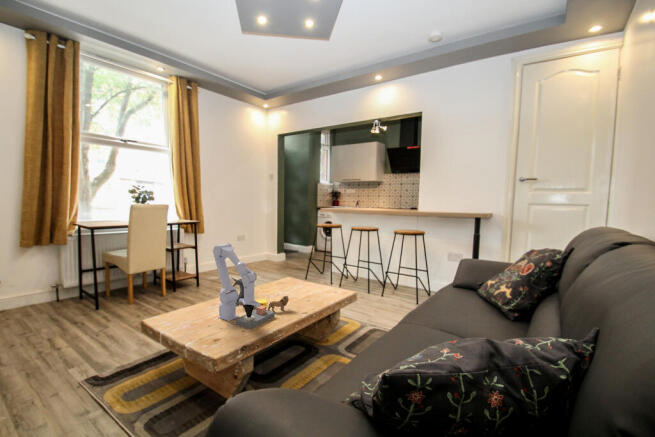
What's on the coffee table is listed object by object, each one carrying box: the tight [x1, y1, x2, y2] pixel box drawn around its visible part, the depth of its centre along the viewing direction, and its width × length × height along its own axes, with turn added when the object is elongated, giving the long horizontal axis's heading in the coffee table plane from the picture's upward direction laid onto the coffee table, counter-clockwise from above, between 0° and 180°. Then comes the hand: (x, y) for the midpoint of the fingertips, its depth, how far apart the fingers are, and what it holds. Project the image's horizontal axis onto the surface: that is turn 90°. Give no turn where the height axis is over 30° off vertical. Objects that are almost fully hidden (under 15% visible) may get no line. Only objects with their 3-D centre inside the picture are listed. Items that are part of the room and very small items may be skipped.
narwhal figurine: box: [231, 277, 244, 307], centre depth 205 cm, size 14×15×18 cm
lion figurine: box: [267, 295, 290, 313], centre depth 192 cm, size 15×5×9 cm, turn 121°
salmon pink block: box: [255, 305, 267, 315], centre depth 181 cm, size 4×4×4 cm
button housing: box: [234, 309, 276, 330], centre depth 177 cm, size 12×20×3 cm, turn 150°
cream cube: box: [244, 316, 254, 321], centre depth 172 cm, size 4×4×4 cm
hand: (249, 316), depth 172 cm, fingers closed, pressing on cream cube
